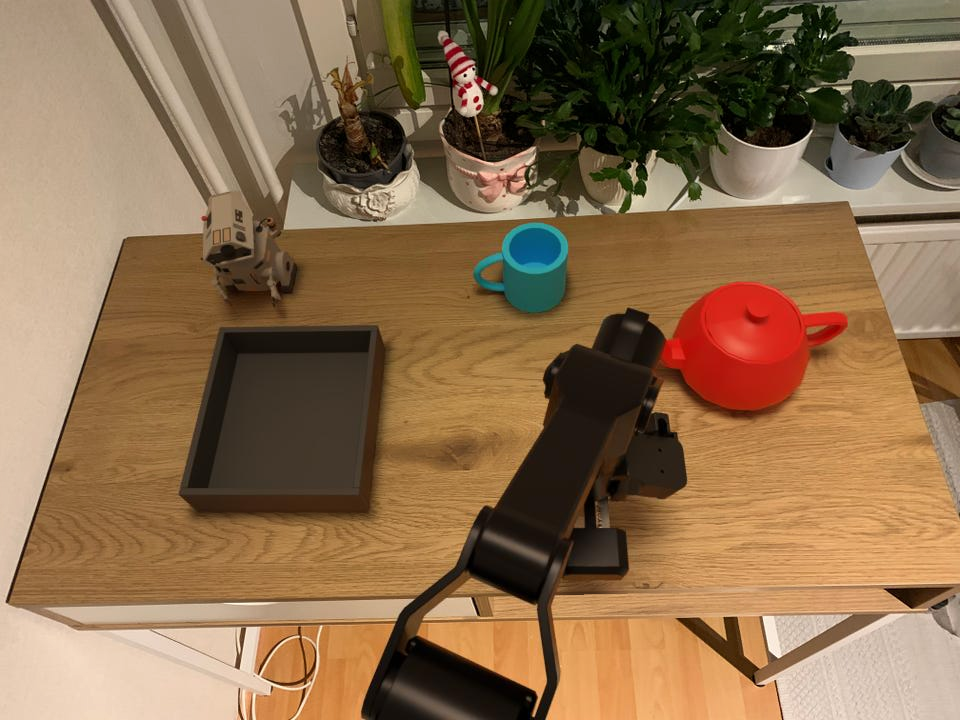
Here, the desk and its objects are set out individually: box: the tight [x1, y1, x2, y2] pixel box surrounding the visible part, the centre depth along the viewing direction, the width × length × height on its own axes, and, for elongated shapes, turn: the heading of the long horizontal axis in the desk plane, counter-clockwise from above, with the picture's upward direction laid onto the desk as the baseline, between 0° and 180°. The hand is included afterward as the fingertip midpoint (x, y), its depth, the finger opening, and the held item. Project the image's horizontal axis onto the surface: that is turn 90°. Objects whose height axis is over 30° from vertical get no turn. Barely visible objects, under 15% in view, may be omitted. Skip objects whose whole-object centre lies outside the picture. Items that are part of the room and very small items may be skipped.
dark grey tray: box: [178, 324, 386, 513], centre depth 85 cm, size 22×20×6 cm
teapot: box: [659, 281, 849, 411], centre depth 83 cm, size 25×16×12 cm, turn 96°
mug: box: [472, 222, 569, 313], centre depth 93 cm, size 12×8×8 cm
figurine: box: [200, 190, 298, 307], centre depth 92 cm, size 9×12×15 cm
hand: (581, 504), depth 75 cm, fingers open, 9 cm apart
